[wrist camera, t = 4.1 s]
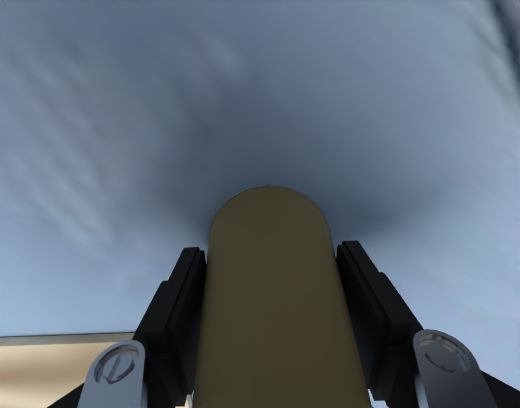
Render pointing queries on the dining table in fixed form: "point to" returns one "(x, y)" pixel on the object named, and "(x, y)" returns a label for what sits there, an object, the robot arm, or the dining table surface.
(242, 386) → the pepper mill
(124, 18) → the dining table surface
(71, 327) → the dining table surface
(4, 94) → the dining table surface
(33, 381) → the coaster board
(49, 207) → the dining table surface
